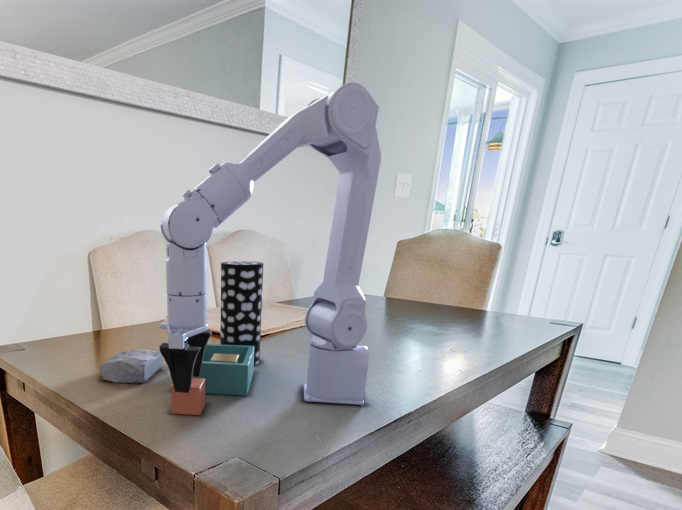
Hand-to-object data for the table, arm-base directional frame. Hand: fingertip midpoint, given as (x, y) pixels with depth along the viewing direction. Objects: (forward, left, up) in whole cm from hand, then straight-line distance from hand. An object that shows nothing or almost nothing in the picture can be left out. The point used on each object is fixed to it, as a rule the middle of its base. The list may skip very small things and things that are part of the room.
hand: (188, 383), depth 71 cm
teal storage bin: (-2, -14, -4) cm, 15 cm away
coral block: (0, 0, -4) cm, 4 cm away
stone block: (+15, -16, -5) cm, 22 cm away
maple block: (-4, -12, -4) cm, 13 cm away
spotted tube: (-5, -28, -5) cm, 29 cm away
